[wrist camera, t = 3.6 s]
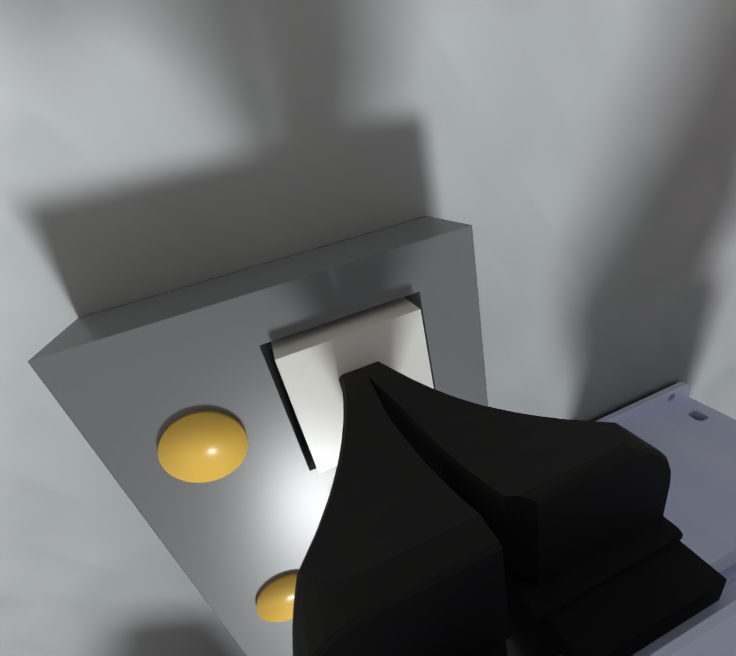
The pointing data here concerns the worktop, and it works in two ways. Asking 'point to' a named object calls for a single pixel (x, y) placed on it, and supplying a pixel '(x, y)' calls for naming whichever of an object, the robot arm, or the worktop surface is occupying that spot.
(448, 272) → the button panel
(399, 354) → the button
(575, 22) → the worktop surface
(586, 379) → the worktop surface
